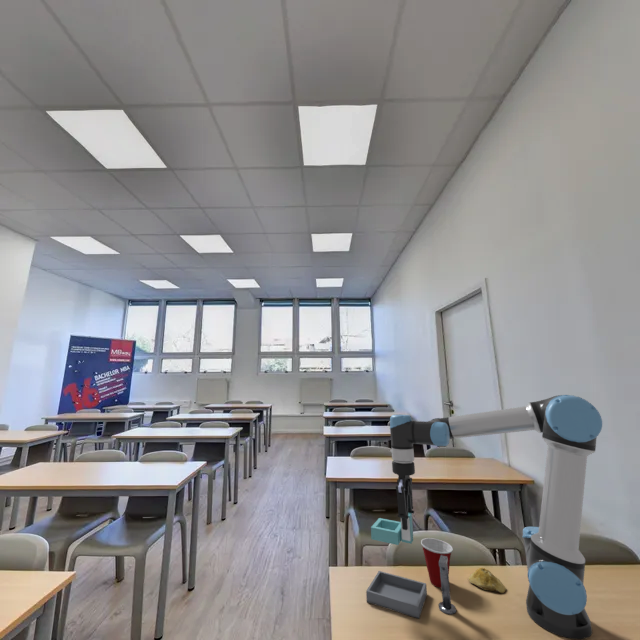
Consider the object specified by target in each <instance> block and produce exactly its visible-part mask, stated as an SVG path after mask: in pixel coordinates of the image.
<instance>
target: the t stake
mask: <svg viewBox="0 0 640 640" xmlns="http://www.w3.org/2000/svg"><path fill="white" fill-rule="evenodd" d="M447 562H448V558H447V556H443V555H441V556H440V559H439V567H440V576H441V588H440V589H441V597H442V601H440V602H439V603H438V610H439V611H441V612H442V614H446V615H449V616H451V615H455V614H456V613H457V607H456V606H455V604H453V603H452V600H451V599H452V598H451V588H450V578H449V575H450V574H449V575H448V564H447Z"/></svg>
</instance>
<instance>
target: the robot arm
mask: <svg viewBox="0 0 640 640" xmlns="http://www.w3.org/2000/svg"><path fill="white" fill-rule="evenodd" d="M600 413H601V412H599V410H598V409H597V408H596V407H595V406H594V405H593V404H592V403H591V402H590V401H588V400H586V399H584V398H582V397H580V396H576V395H572V394H571V395H569V394H560V395H555V396H551V397H548V398H546V399H541V400H538V401H537V400H536V401H531V402H528V403H527V404H526V405H524V406H518V407H511V408H504V409H496V410H490V411H483V412H476V413H468V414H462V415H461V414H460V415H454V416H448V417H437V418H432V419H431V420H427V421H424V420H423V421H422V420H421V421H420V420H419V421H418V420H417V421H416V420H413V419H412V416H411V415H410V414H391V416H390V418H389V430H390V431H389V433H390V447H391V449H390V450H389V452H390V453H391V459H392V462H391V470H392V473H393V474H395V475H397V476H398V477H397V480H396V481H397V483H396V485H395V490H396V499H397V512H398V514H397V518H400V522H401V533H402V540H407V541H411V536H410V520H409V518H408V517H409V516H408V512H409V513H412V515H414V514H415V510H414V502H413V501H414V499H413V477H411V476H413V475H415V473H416V470H415V469H416V468H415V462H414V460H415V452H414V445H426V446H435V447H446V446H448V445H449V444H450V440H454V439H462V438H463V439H464V438H471V437H480V436H490V435H501V434H509V433H519V432H527V431H529V432H530V431H536V432H537V433H539V434H540V433H541V434H542V435H541V438H542V440H543V441H544V442H545V443H546V445H547V450H546V458H545V459H546V460H545V467H544V478H543V487H542V488H543V489H542V495H541V506H540V516H539V524H538V526H526V527H524V528H523V529H522V538H523V544H524V551H525V559H526V568H527V579H528V580H527V581H528V583H529V585H528V588H527V593H526V599H525V605H526V611H527V614H528V616H529V618H531V620H532V621H533V622H535V623H536V625H538V626H540V627H542V629H544V630H546V631H548V632H551V633H552V634H554V635H557V636H561V637H563V638H568V639H573V640H584V639H588V638H590V637H591V635H592V634H593V629H592V628H593V627H592V623H591V620H590V617H589V615H588V613H587V611H586V606H587V601H588V595H587V590H586V588H585V585H584V580H585V572H586V571H585V570H586V569H585V568H586V567H585V566H586V558H585V557H584V555H583V554H582V552H581V551H580V549H579V546H580V538H581V537H580V535H581V527H582V516H583V505H584V502H583V501H584V493H585V483H586V475H587V474H586V472H587V471H586V470H587V463H588V462H587V461H588V460H587V459H588V457H589V456H590V455H592V454H594V453H596V447H597V438H598V436H599V435H600V433H601V432H602V428H603V419H602V415H601V414H600ZM412 526H413V523H412Z"/></svg>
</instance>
